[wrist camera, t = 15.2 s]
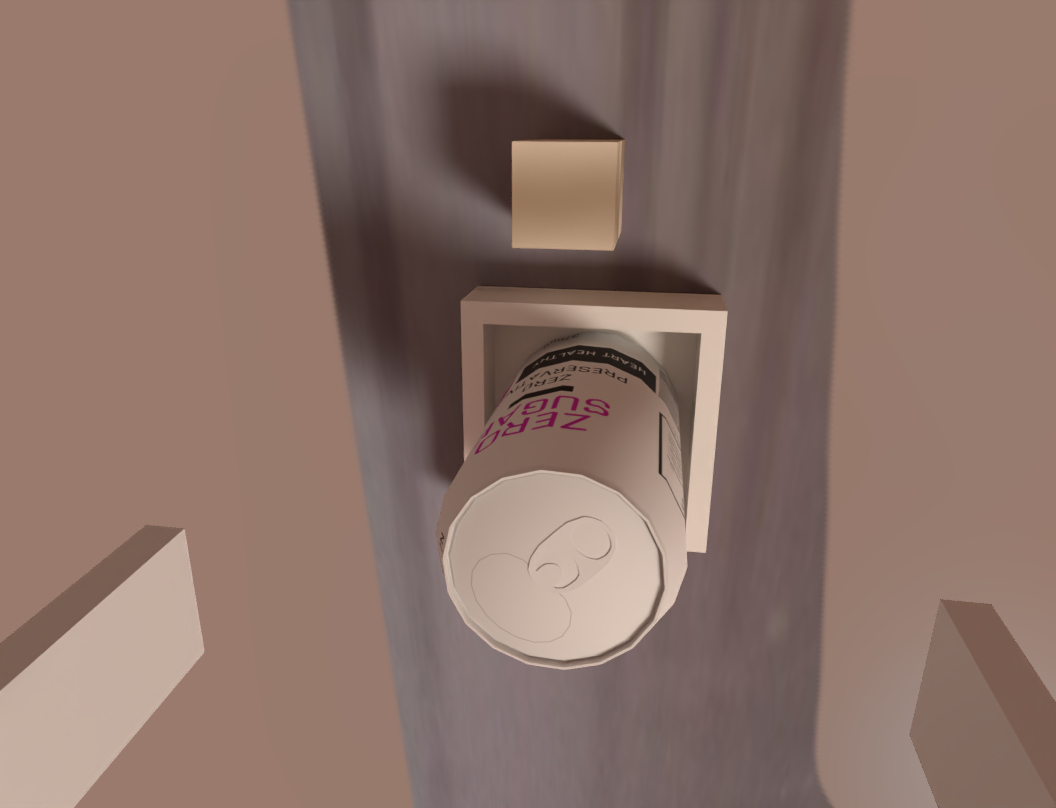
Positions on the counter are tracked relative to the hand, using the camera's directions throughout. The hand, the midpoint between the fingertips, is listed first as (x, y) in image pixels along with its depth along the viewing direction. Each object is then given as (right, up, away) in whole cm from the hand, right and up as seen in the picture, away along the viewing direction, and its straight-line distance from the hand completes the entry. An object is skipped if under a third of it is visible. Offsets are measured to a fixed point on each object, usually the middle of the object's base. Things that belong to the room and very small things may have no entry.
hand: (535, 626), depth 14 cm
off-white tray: (+3, +4, +25) cm, 26 cm away
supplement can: (+3, +4, +25) cm, 25 cm away
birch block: (+2, +14, +22) cm, 26 cm away
